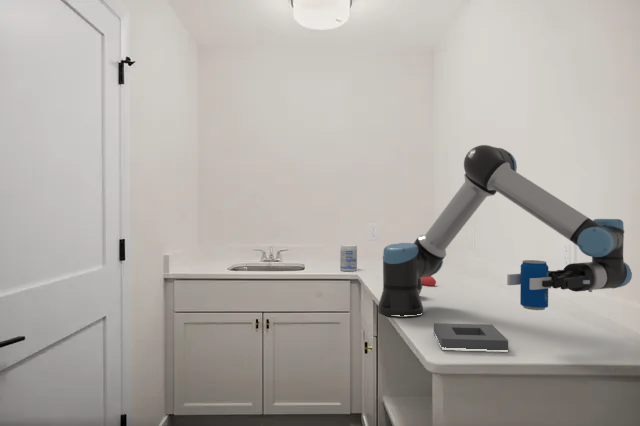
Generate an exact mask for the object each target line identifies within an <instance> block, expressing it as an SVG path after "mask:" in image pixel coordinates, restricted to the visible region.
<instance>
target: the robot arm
mask: <svg viewBox="0 0 640 426" xmlns="http://www.w3.org/2000/svg"><path fill="white" fill-rule="evenodd" d="M517 168H518V167H517V161H516V158H515V156H514V155H513V154H512V153H511V152H509V151H507V149H504V148H501V147H496V146H491V145H487V144H481V145H477V146H475V147H473V148H472V149H469V151H468V152H467V154H465V157H464V160H463V169H464V172H465V173H464V182H463V184H462V185H461V187H460V188H459V189H458V191H457V192H456V194H455V195H454V196H453V197H452V198H451V200H450V201H449V202H448V204H447V205H446V206H445V208H444V209H443V210H442V212H441V213H440V214H439V216H438V218H437V219H436V220H435V221H434V223H433V224H432V225H431V227H430V228H429V229H428V231H426V233H425V234H420V235H418V236H417V238H416V239H415V241H414V242H413V243H412V242H398V243H391V244H388V245H386V246H385V247H383V252H382V253H383V255H382V262H383V263H382V275H383V276H382V277H383V288H382V293H381V296H380V299H379V302H378V306H377V309H378V310H377V311H378V313H379V314H380V315H381V316H385V317H391V315H400V316H404V315H417V314H421V313H423V314H424V306H423V302H422V300H421V297H420V294H419V293H418V279H419V278H424V277H429V276H432V277H433V275H435V274H437V273H438V272H439V271H440V270H441V268H442V266H443V264H444V259H445V257H446V256H447V252H446V251H447V250H446V249H447V248H448V247H449V246H450V245H451V243H452V242H453V240H454V239H455V238H456V236H457V235H458V234H459V233H460V231H461V230H462V229H463V227H465V225H466V224H467V222H468V221H469V220H470V219H471V218H472V216H473V215H474V214H475V212H476V211H477V210H478V208H479V207H480V206H481V205H482V203H483V202H484V201H485V199H486V198H487V197H492V196H495V194H496V193H499V194H501V195H502V196H503V197H504V198H506V199H507V200H509V201H511V202H512V203H513V204H515V205H516V206H518V207H520V208H521V209H522V210H523V211H525V212H527V213H529V214H530V215H531V216H533V217H535V218H536V219H537V220H539V221H540V222H542V223H543V224H545V225H547V227H549V228H551V229H552V230H553V231H555V232H556V233H558V234H560V235H562V237H564V238H566V239H567V240H569V241H570V242H571V243H573V244H574V245H575V246H577V247H578V249H579V250H580V252H582V254H584V255H586V256H588V257H591V261H590V262H589V261H587V262H577V263H576V262H575V263H569V264H566V266H565V267H564V268H563V269H558V270H548V277H542V278H530V290H537V289H548V290H549V289H559V288H560V289H561V290H562V291H564V290H570V291H571V292H575V293H576V292H585V291H588V292H589V293H592V292H593V291H594V290H606V289H617V288H622V287H624V286H627V285H628V284H629V283H630V282H631V280H632V278H633V273H632V272H631V271H632V270H631V267H630V266H629V264H627V263H626V262H625V261H624V239H625V237H624V236H625V235H624V234H625V229H624V222H623V220H622V219H619V218H595V219H591V218H589V217H588V216H587V215H585V214H583V213H582V212H580V211H579V210H576V208H573V207H572V206H570V205H569V204H567V203H566V202H564V201H562V200H561V199H560V198H558V197H556V196H555V195H553V194H551V193H550V192H548V191H547V190H545V189H544V188H542V187H540V186H539V185H538V184H535V183H534V182H533V181H531V180H529V179H528V178H527V177H525V176H524V175H522V174H520V173H518V172H517ZM506 277H507V278H506V279H507V280H506V281H507V286H516V285H519V286H521V271H520V273H512V274H507V276H506Z"/></svg>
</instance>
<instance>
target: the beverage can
mask: <svg viewBox="0 0 640 426" xmlns="http://www.w3.org/2000/svg"><path fill="white" fill-rule="evenodd" d="M548 271H549V265H548V264H547V261H545V260H534V259H533V260H532V259H531V260H530V259H526V260H522V263H521V265H520V272H521V284H520V299H519V300H520V302H519V303H520V306H522V307H523V308H524V309H526V310H531V311H544V310H546V309H547V308H548V307H549V288H548V289H537V290H530V278H542V277H548Z"/></svg>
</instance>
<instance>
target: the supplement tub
mask: <svg viewBox="0 0 640 426" xmlns="http://www.w3.org/2000/svg"><path fill="white" fill-rule="evenodd" d="M339 256H340V259H339V262H340V271H341V272H356V271H357V270H358V246H357V245H356V244H355V245H354V244H340V255H339Z"/></svg>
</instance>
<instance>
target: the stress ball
mask: <svg viewBox="0 0 640 426" xmlns="http://www.w3.org/2000/svg"><path fill="white" fill-rule="evenodd" d="M421 281H422V284H423V285H422V286H427V287H435V286H436V284H437V281H436V279H435V277H433V275H432V276H429V277H424V278H421Z"/></svg>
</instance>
